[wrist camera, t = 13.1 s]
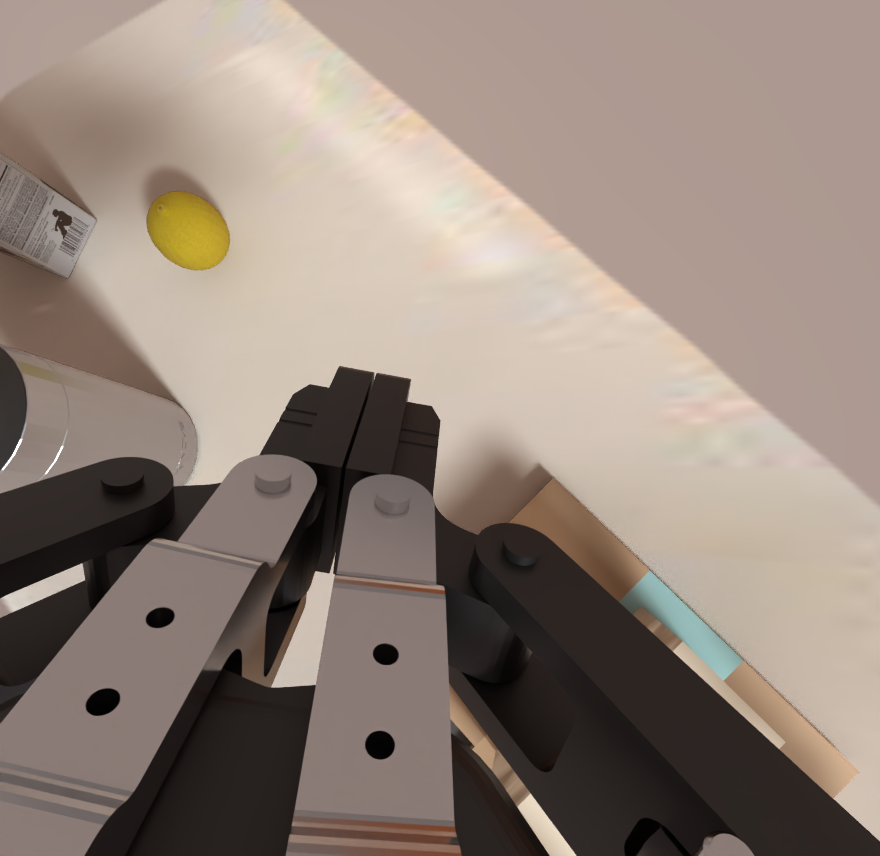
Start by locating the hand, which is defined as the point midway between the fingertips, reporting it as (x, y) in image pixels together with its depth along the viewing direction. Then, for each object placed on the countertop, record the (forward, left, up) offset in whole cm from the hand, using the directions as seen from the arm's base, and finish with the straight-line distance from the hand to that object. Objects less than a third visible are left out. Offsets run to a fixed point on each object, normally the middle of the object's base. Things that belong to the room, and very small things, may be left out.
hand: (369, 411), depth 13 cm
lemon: (-24, +20, -34) cm, 47 cm away
